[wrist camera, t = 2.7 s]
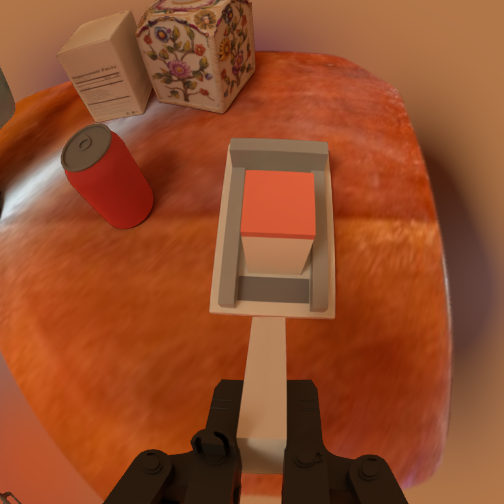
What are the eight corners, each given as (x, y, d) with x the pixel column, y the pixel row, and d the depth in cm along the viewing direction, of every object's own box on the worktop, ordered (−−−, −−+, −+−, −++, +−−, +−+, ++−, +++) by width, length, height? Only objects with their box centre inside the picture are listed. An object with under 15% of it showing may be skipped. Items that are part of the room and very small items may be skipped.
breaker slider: (300, 275, 29) (315, 235, 20) (248, 273, 30) (240, 231, 20) (300, 227, 31) (313, 172, 22) (251, 225, 31) (245, 169, 22)
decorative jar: (257, 71, 42) (253, -28, 26) (225, 116, 39) (207, 1, 22) (193, 61, 44) (174, -27, 28) (156, 103, 41) (120, 6, 24)
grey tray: (332, 319, 29) (348, 308, 23) (211, 313, 30) (198, 301, 24) (326, 154, 36) (334, 120, 30) (229, 149, 37) (224, 115, 31)
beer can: (143, 174, 36) (106, 109, 25) (164, 211, 34) (124, 147, 23) (100, 201, 35) (52, 145, 24) (116, 241, 33) (61, 189, 22)
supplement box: (110, 88, 44) (80, 23, 30) (156, 79, 43) (132, 7, 29) (94, 124, 41) (53, 55, 26) (144, 115, 40) (110, 36, 26)
